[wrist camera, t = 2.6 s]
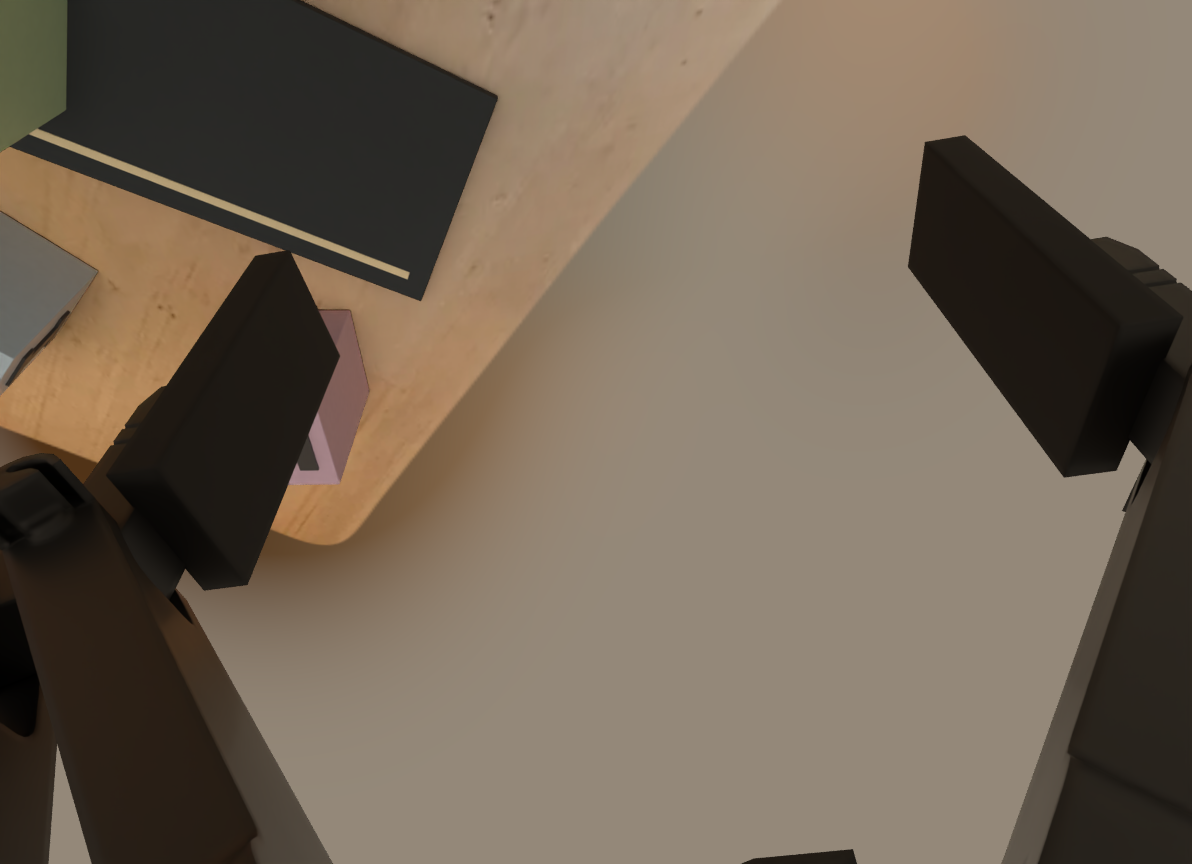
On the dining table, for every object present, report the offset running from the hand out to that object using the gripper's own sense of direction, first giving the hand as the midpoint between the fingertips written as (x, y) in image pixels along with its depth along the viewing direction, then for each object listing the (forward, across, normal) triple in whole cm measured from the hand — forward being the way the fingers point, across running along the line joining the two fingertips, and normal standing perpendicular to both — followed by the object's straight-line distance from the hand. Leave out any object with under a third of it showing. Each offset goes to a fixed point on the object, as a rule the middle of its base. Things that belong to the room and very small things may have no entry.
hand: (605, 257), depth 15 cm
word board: (+19, -17, 0) cm, 26 cm away
